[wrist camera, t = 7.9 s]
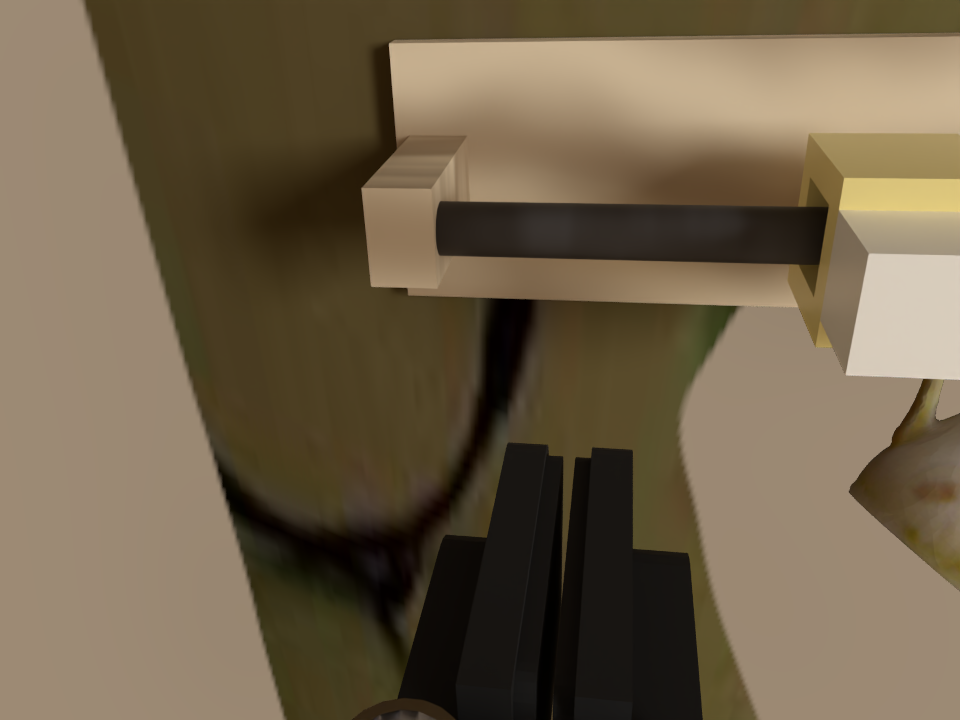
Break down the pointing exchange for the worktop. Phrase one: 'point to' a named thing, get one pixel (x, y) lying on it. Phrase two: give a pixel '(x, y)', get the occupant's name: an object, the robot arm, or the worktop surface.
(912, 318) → the sleeve
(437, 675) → the robot arm
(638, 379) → the worktop surface
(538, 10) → the worktop surface
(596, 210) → the roller holder rack
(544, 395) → the worktop surface
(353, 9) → the worktop surface
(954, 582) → the mug
